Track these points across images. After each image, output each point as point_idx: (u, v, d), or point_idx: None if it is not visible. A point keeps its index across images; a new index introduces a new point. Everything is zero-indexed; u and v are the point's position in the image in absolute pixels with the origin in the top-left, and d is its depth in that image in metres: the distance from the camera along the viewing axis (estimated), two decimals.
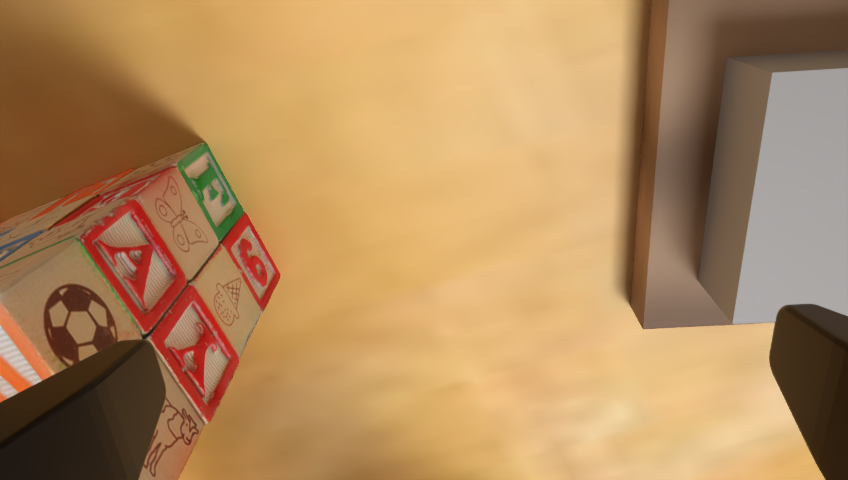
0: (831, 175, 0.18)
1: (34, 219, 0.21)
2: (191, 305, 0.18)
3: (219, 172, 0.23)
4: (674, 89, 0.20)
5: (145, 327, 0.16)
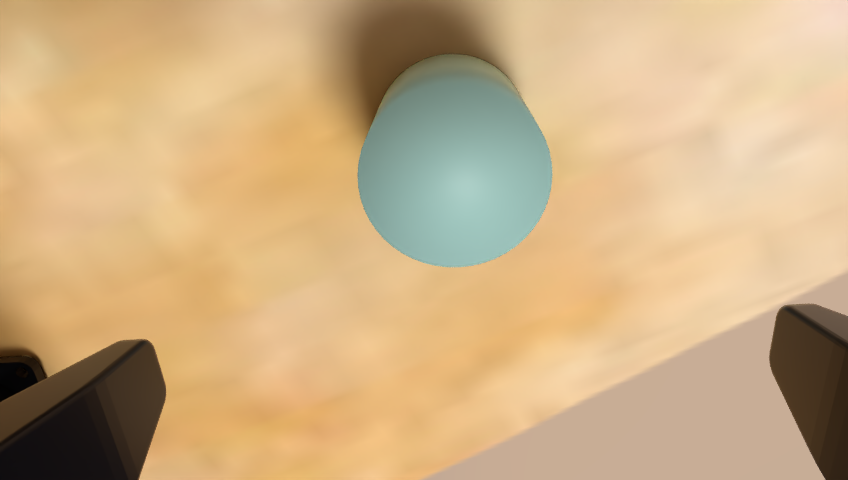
0: None
1: None
2: None
3: None
4: None
5: None
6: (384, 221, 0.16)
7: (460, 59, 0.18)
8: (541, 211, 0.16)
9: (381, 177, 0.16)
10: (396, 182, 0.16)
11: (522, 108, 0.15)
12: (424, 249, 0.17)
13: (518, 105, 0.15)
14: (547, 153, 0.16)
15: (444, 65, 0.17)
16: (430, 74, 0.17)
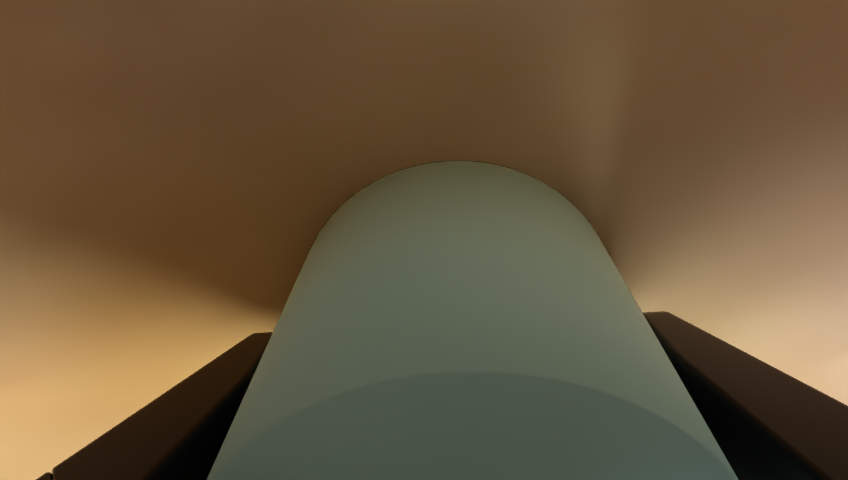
0: None
1: None
2: None
3: None
4: None
5: None
6: None
7: (478, 189, 0.08)
8: None
9: None
10: None
11: (696, 441, 0.05)
12: None
13: (687, 438, 0.04)
14: None
15: (439, 224, 0.07)
16: (399, 273, 0.06)
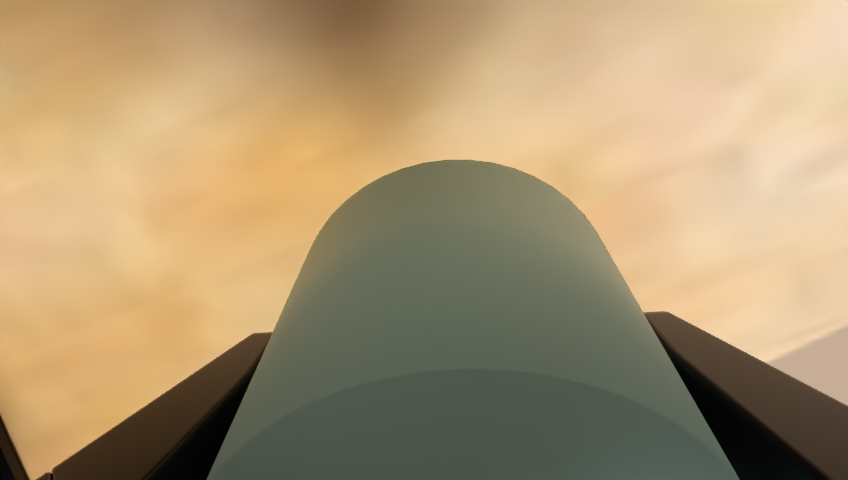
0: None
1: None
2: None
3: None
4: None
5: None
6: None
7: (478, 188, 0.08)
8: None
9: None
10: None
11: (696, 438, 0.05)
12: None
13: (686, 435, 0.04)
14: None
15: (440, 222, 0.07)
16: (400, 271, 0.06)
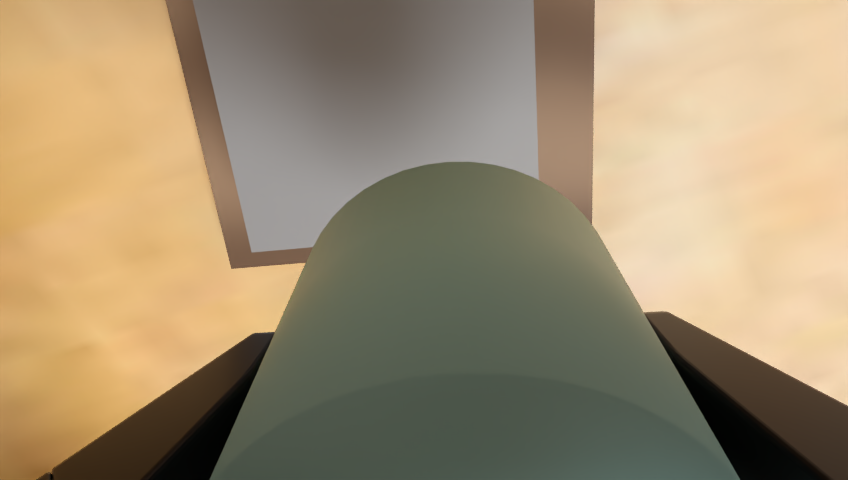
0: (294, 63, 0.15)
1: None
2: None
3: None
4: None
5: None
6: None
7: (479, 190, 0.08)
8: None
9: None
10: None
11: (698, 442, 0.05)
12: None
13: (689, 440, 0.04)
14: None
15: (441, 225, 0.07)
16: (401, 274, 0.06)
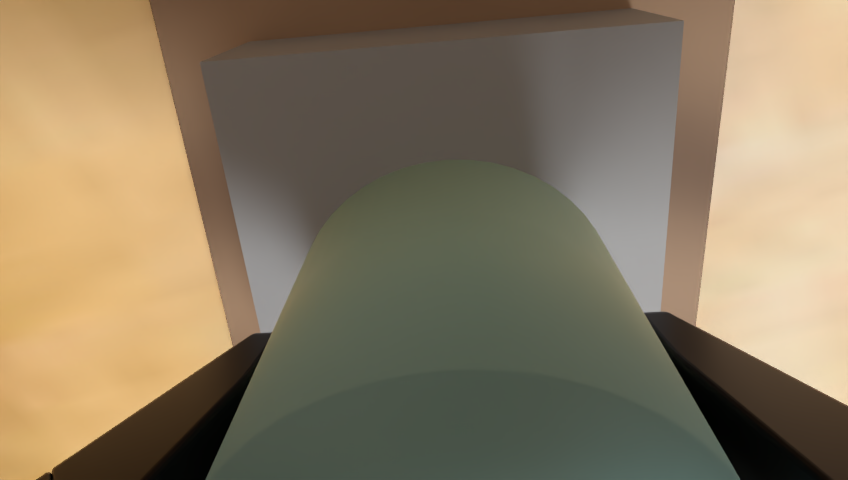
0: None
1: None
2: None
3: None
4: (185, 75, 0.14)
5: None
6: None
7: (478, 188, 0.08)
8: None
9: None
10: None
11: (697, 440, 0.05)
12: None
13: (688, 437, 0.04)
14: None
15: (439, 222, 0.07)
16: (399, 272, 0.06)
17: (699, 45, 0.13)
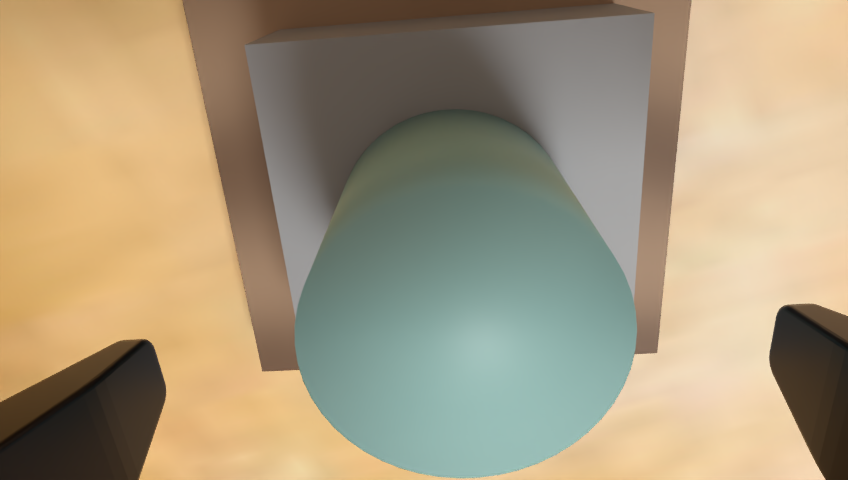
0: None
1: None
2: None
3: None
4: (213, 69, 0.15)
5: None
6: (346, 414, 0.10)
7: (463, 121, 0.12)
8: (617, 389, 0.09)
9: (337, 346, 0.09)
10: (362, 352, 0.09)
11: (582, 224, 0.08)
12: (418, 453, 0.10)
13: (576, 220, 0.08)
14: (627, 297, 0.09)
15: (438, 137, 0.11)
16: (414, 159, 0.10)
17: (661, 45, 0.15)
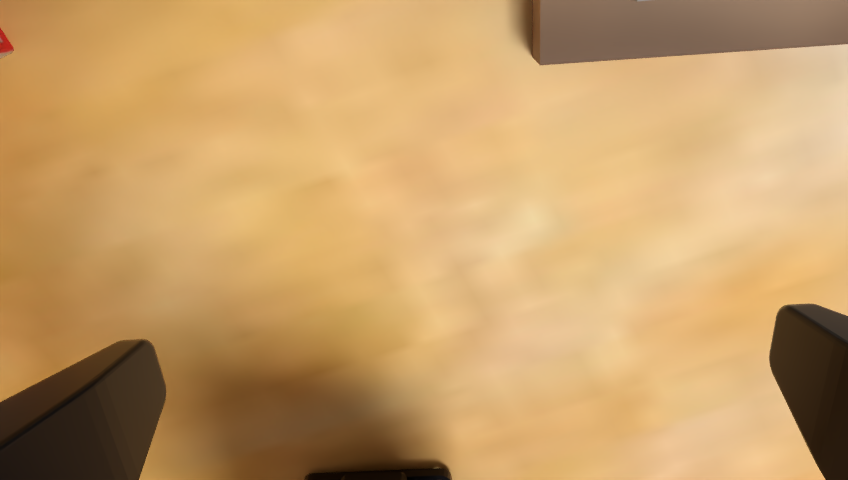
0: None
1: None
2: None
3: None
4: None
5: None
6: None
7: None
8: None
9: None
10: None
11: None
12: None
13: None
14: None
15: None
16: None
17: None
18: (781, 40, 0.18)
